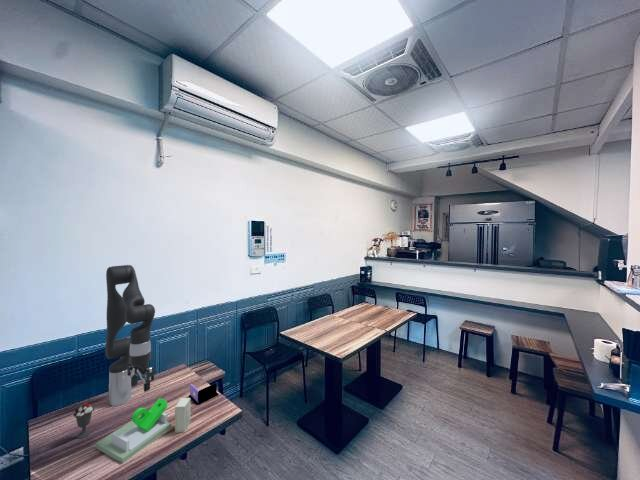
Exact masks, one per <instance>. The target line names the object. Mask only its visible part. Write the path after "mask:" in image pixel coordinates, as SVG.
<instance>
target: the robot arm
mask: <svg viewBox="0 0 640 480" xmlns="http://www.w3.org/2000/svg"><path fill="white" fill-rule="evenodd" d="M105 273H106V275H105V280H106V281H105V282H106V293H107V299H106V339H105V350H104V353H105V358H107V360H112V359H117V358H119V359H118V360H116V361H114V362H113V363H111V364H110V366H109V367H108V369H109V370H108V371H109V372H108V373H109V375H108V378H109V379H108V380H109V381H108V383H109V384H108V401H109V406H112V407H115V406H122V405H123V404H126V403H127V402H128V401H130V400H131V398H132V388H133V387H135V386H137V385H138V376H139V378H140V380H142V381H143V392H145V393H147V392H148V391H150V390H151V382H153V381H154V380H155V368H154V366H149V362H150V361H151V359H152V344H151V329H152V324H153V321H154V318H155V313H156V309H155V307H154V305H152V304H150V303H148V304H145V303H146V302H145V298H144V296H143V293H142V292H141V290H140V285H139V281H138V278H137V273H136V271H135V268H134V267H133V265H131V264H123V265H112V266H109V267H107V268H106V272H105ZM123 284H124V285H125V284H126V285H127V286H126V287H125V288H124V290H123V292H122V294H121V293H119V292H118V290H117V288H116V286H118V285H123ZM126 323H127V324H130V325H133V324H137V323H138V324H139V323H141V324H140V325H138V326H136V327H134V328H133V329H131V330H130V333H129V334H130V335H129V336H130V337H128V336H126V337H121V338H118V339H117V338H116V337H117V335H118V333H119V332H120V331H121V329H123V327H124V326H125V325H126Z"/></svg>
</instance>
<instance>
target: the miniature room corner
mask: <svg viewBox="0 0 640 480" xmlns="http://www.w3.org/2000/svg"><path fill="white" fill-rule="evenodd" d="M189 387H190V388H189V394H188V397H187V398H191V401H192V402H193V403H194V404H195V406H200V405H202V404H204V403H206V402H208V401H210V400H212V399H214V398H216V397H219V393H218V392H217V389H218V388H217V387H218V385H217V383H213V384H211V385H208V386H206V387H204V388H201V389H198V388H197V387H196V386H195V385H194V384H193V383H190V384H189Z"/></svg>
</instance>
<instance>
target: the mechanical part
mask: <svg viewBox="0 0 640 480" xmlns="http://www.w3.org/2000/svg"><path fill="white" fill-rule="evenodd" d="M167 408H168V402H167V400H165V399H164V398H161V397H159V398H158V399H157V401H155V403H154V404H153V405H152V406H151V408H149V410H148V409H146V408H145V407H139V408H137V409H136V410H135V411H134V412H133V414H132V416H131V421H133V422H134V423H135V424H136V425H137V426H138V427H139V428H141V429H143V430H146V431H149V430H150V429H151V428H152V426H153V425H154V424H155V422H156V421H157V420H158V419H159V417H160V416H161V415H162V413H165V411H166V409H167ZM140 415H141V417H140V418H138V417H139V416H140Z"/></svg>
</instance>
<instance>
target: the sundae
mask: <svg viewBox="0 0 640 480" xmlns="http://www.w3.org/2000/svg"><path fill="white" fill-rule="evenodd" d="M90 401H91V398H88V400H87V401H86V402H84V403H83V404H82V405H80V407H79V408H74V413H73V415H72V416H73V417H75V419H76V424H77V426H78V428H82V429H81V430H82V431H81V432H80V433H78V434H77V435H76V439H79V440H81V439H84V438H87V437H88V436H90V435H91V434H92V432H93V430H91V429H87V426H88V425H89V424H90V423H91V419H92V414H93V412H94V411H95V407H94V406H91V404H90V403H89V402H90Z"/></svg>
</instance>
